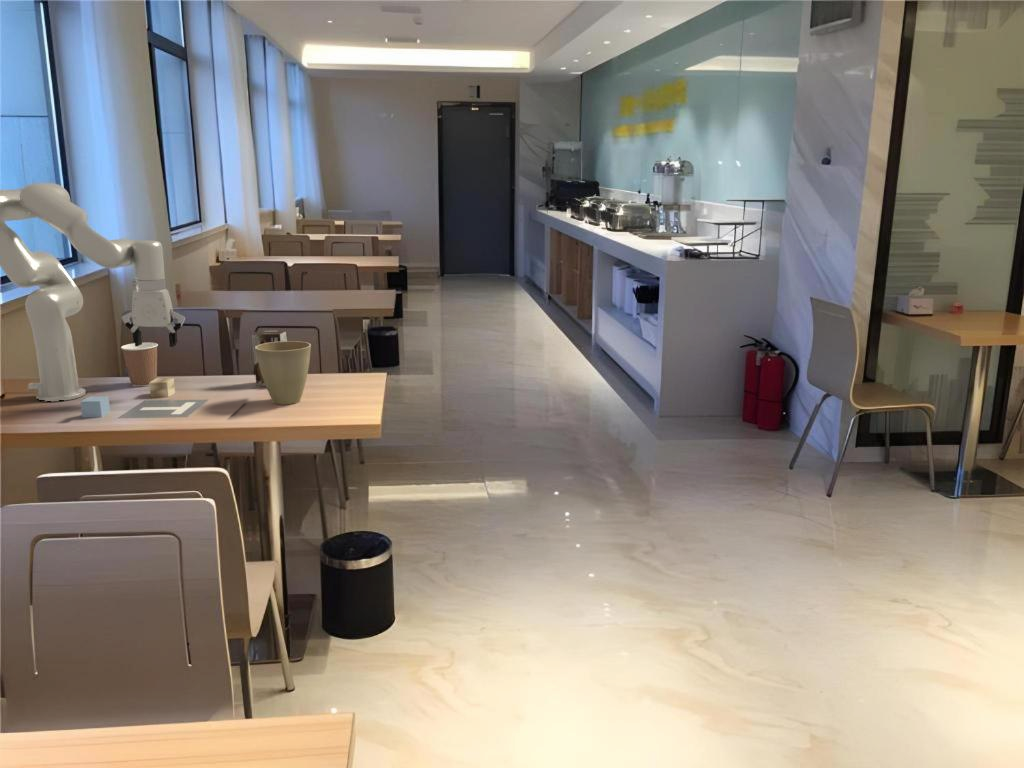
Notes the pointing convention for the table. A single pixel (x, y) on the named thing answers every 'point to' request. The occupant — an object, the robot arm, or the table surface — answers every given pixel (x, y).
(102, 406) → the blue cube
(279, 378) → the plant pot
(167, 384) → the wood block
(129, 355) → the coffee cup
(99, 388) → the table surface
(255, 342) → the coffee box
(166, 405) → the letter board
